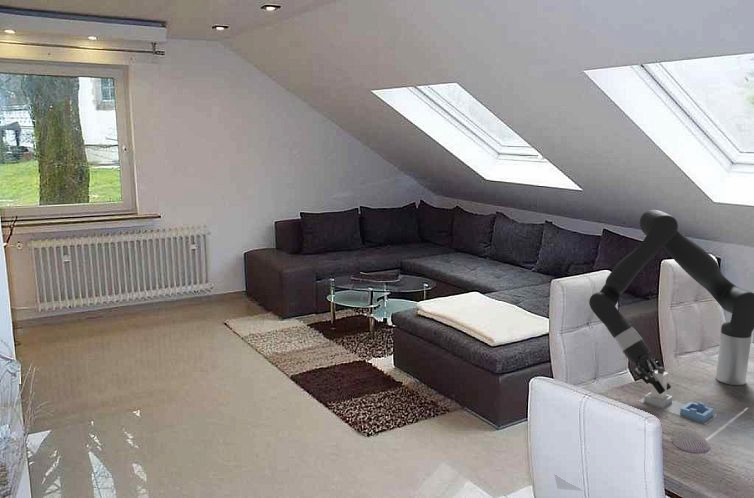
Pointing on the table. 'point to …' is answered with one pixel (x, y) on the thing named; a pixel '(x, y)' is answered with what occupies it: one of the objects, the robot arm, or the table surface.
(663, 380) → the white knobbed square peg
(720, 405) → the table surface
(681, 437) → the seashell
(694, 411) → the socket
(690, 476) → the table surface
